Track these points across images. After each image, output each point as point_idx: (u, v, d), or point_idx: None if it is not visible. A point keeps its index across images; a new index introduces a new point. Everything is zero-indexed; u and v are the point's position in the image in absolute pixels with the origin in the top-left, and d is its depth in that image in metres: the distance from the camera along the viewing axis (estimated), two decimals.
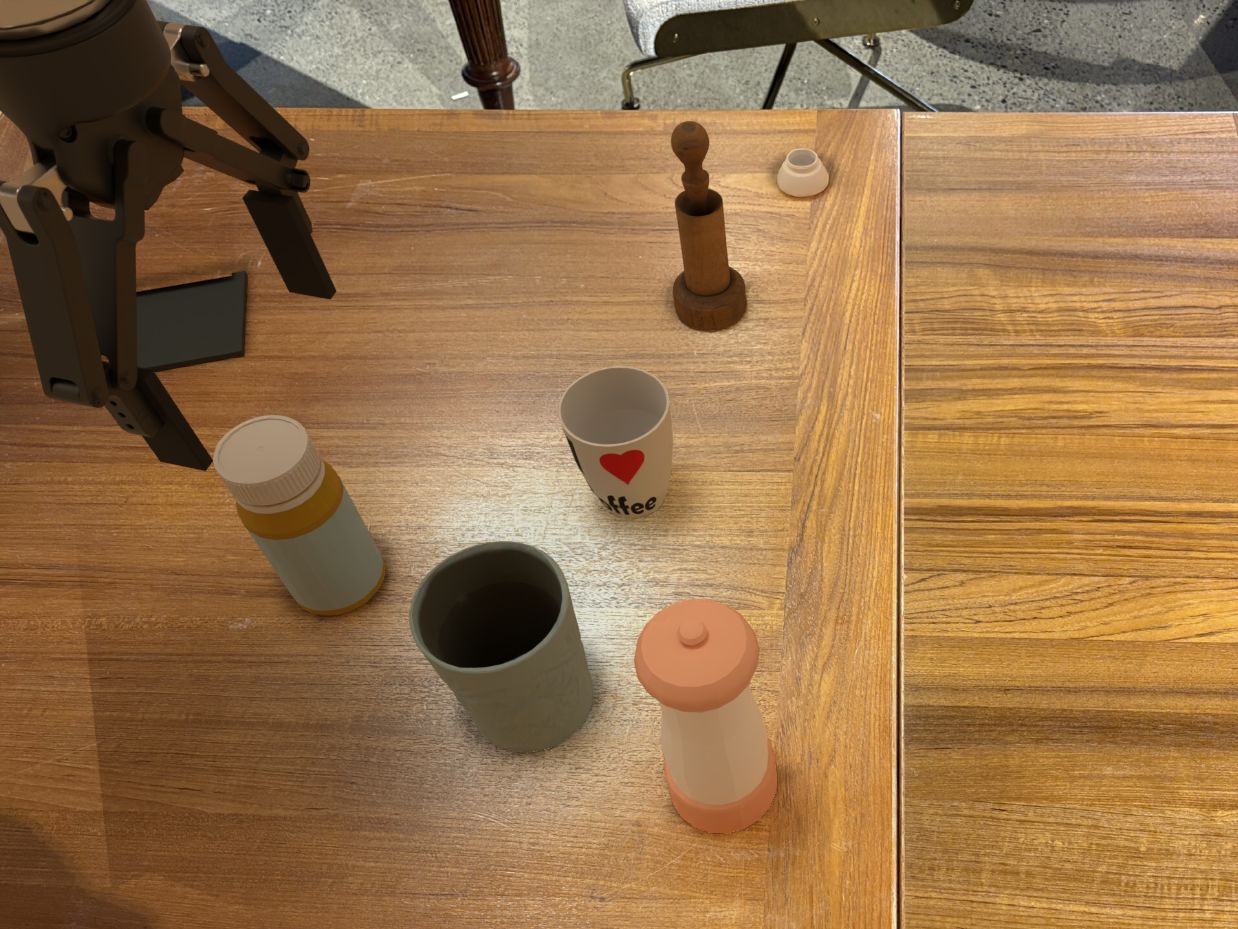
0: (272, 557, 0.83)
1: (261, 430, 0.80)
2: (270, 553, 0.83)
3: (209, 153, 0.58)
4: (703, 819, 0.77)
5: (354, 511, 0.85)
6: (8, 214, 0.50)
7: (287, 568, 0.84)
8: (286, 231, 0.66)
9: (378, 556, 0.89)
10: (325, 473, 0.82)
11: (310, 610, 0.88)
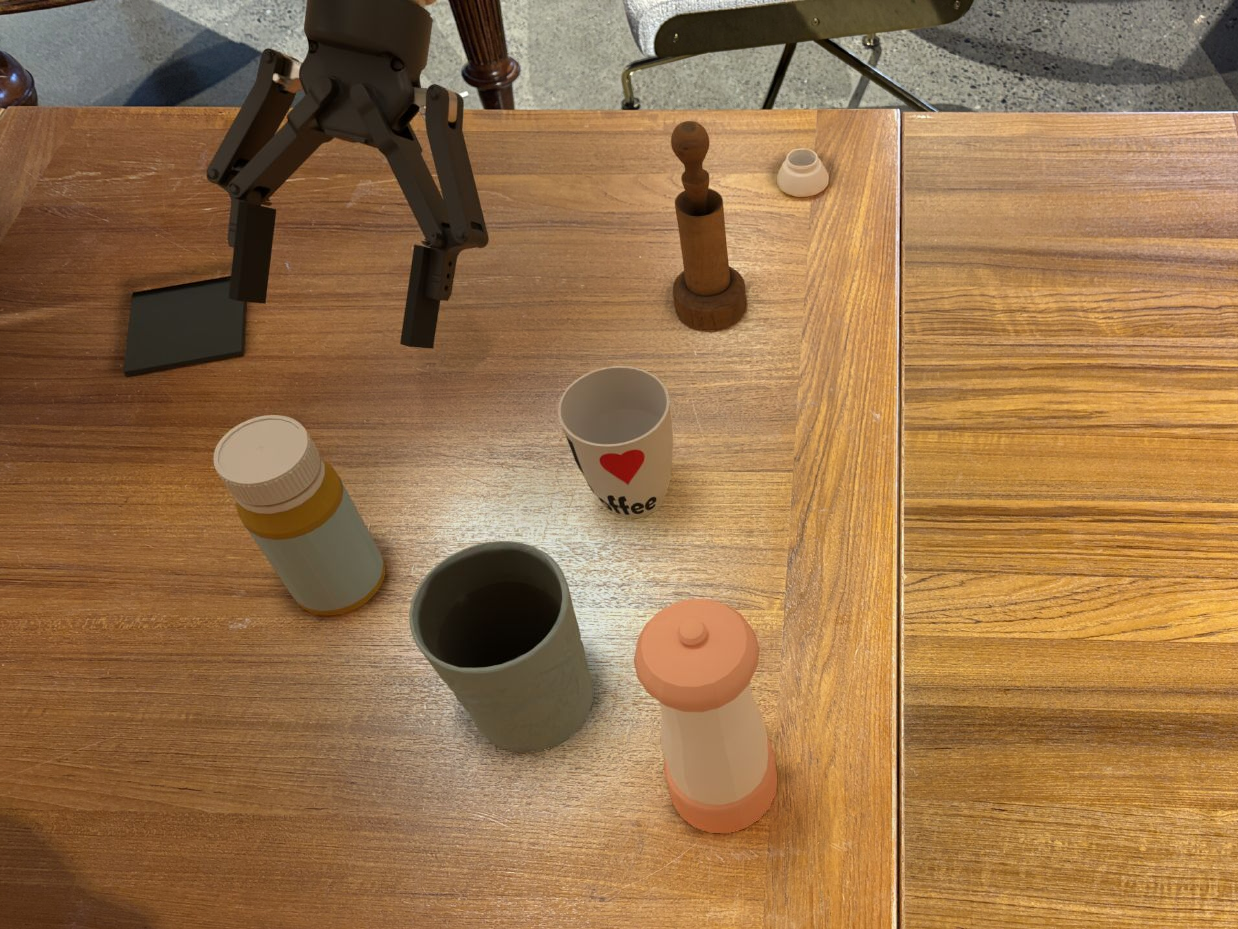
0: (272, 557, 0.83)
1: (262, 430, 0.80)
2: (270, 553, 0.83)
3: (375, 142, 0.77)
4: (703, 819, 0.77)
5: (354, 511, 0.85)
6: None
7: (287, 568, 0.84)
8: None
9: (378, 556, 0.89)
10: (325, 473, 0.82)
11: (310, 610, 0.88)
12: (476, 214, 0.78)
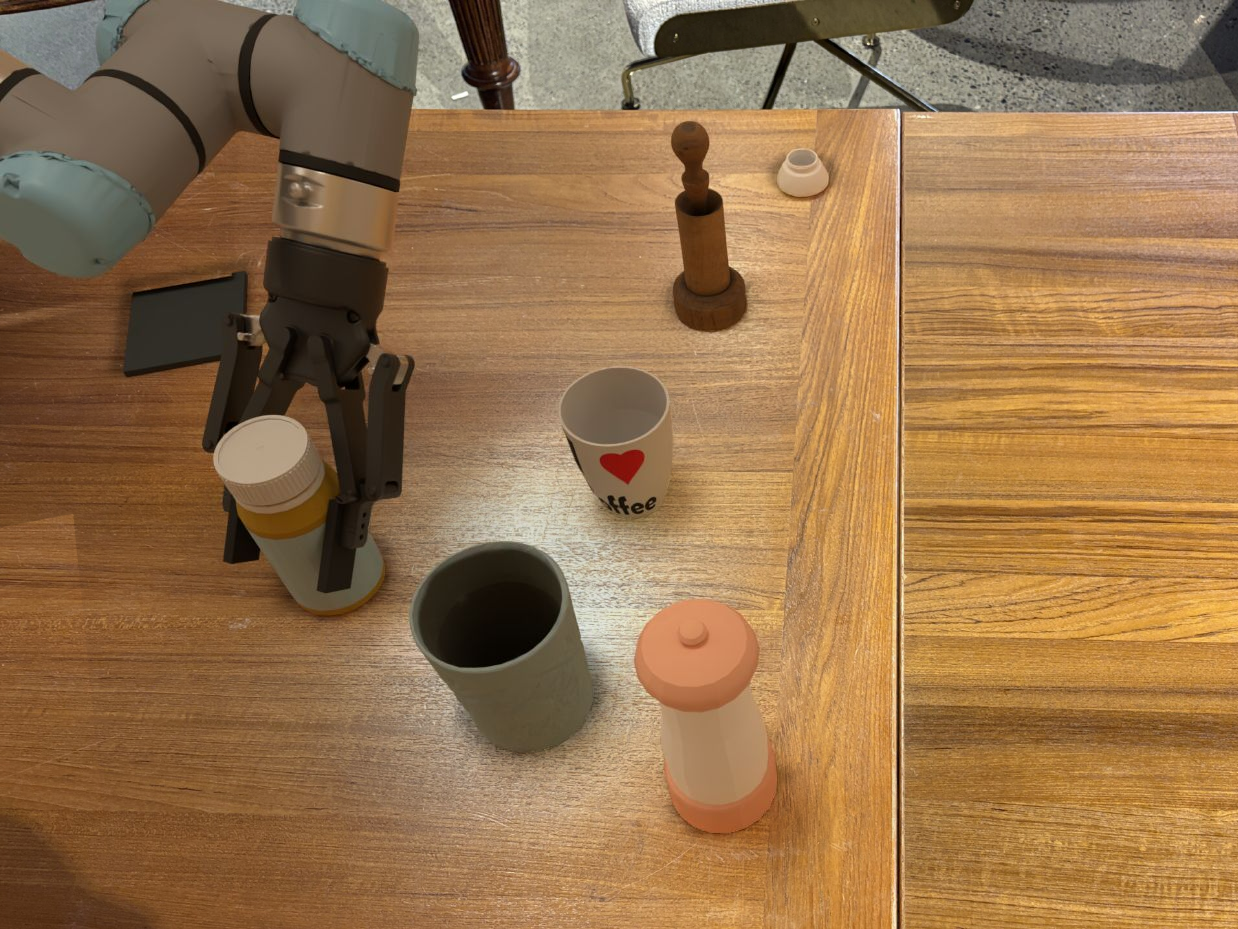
0: (272, 557, 0.83)
1: (261, 430, 0.80)
2: (270, 553, 0.83)
3: (318, 391, 0.80)
4: (703, 819, 0.77)
5: None
6: None
7: (287, 568, 0.84)
8: None
9: (378, 556, 0.89)
10: (325, 473, 0.82)
11: (310, 609, 0.88)
12: (395, 472, 0.82)
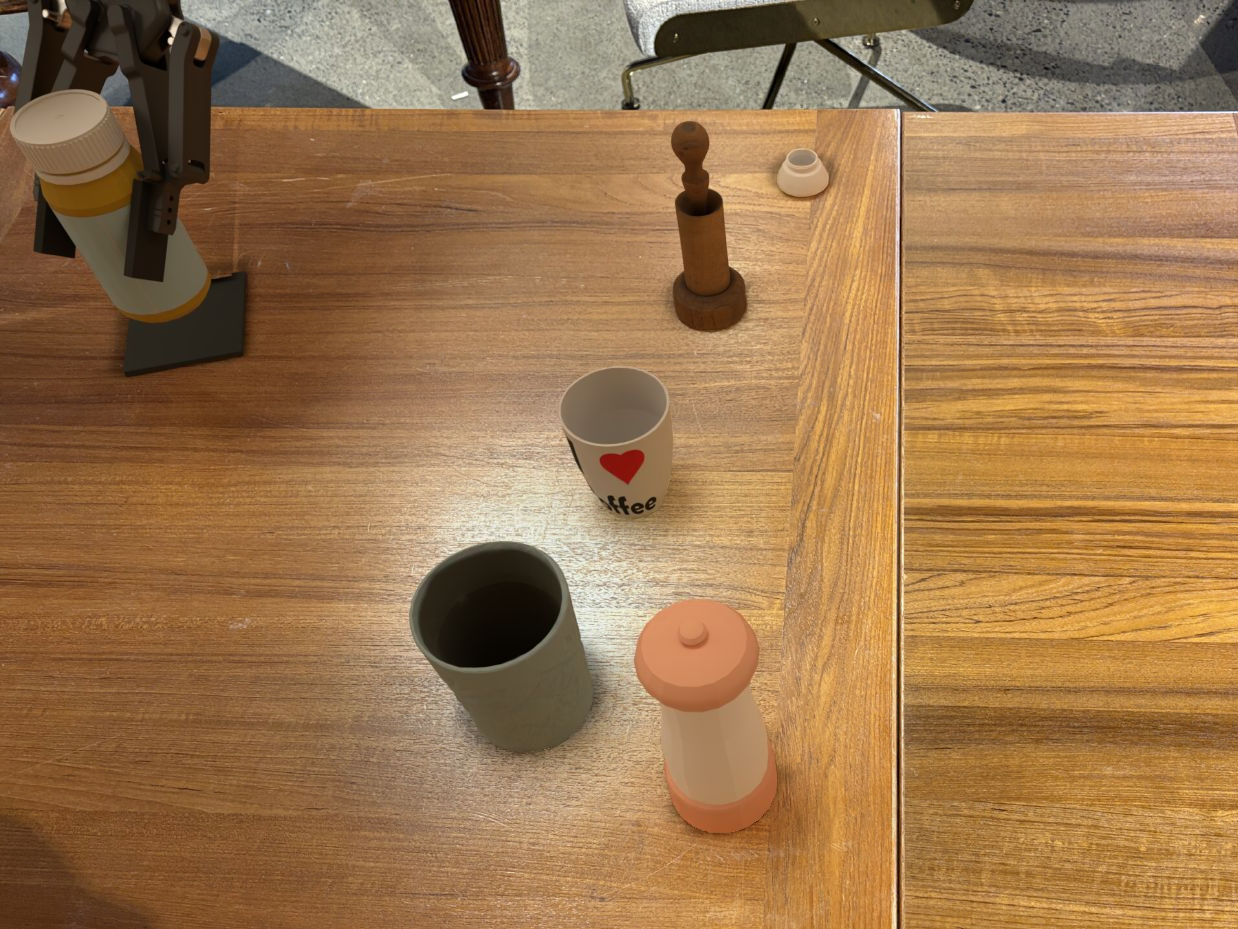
0: (80, 243, 0.83)
1: (62, 102, 0.79)
2: (77, 237, 0.82)
3: (119, 64, 0.79)
4: (703, 819, 0.77)
5: None
6: None
7: (97, 258, 0.84)
8: None
9: (200, 265, 0.89)
10: (130, 153, 0.81)
11: (130, 314, 0.88)
12: (200, 153, 0.81)
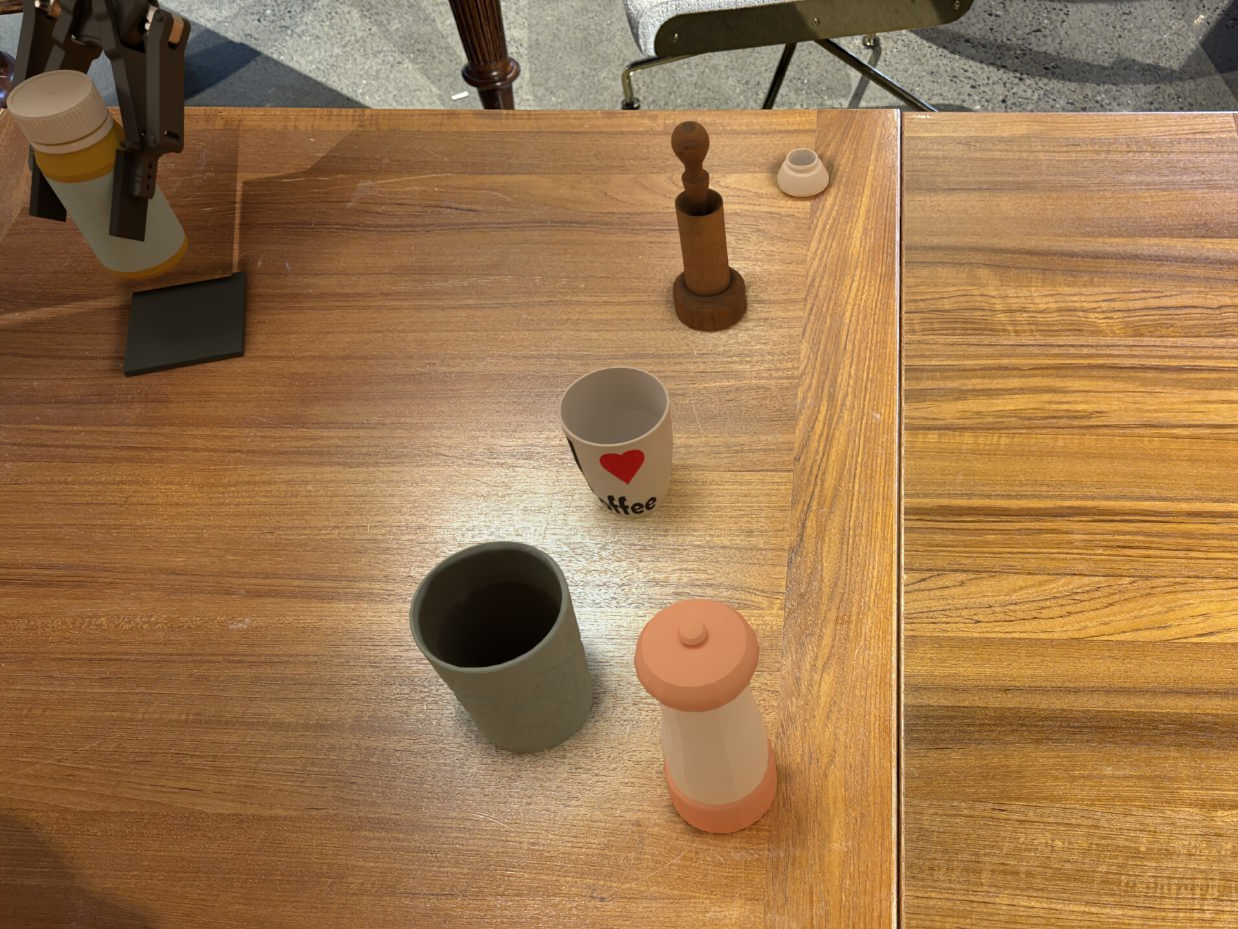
0: (70, 207, 0.94)
1: (53, 81, 0.90)
2: (68, 202, 0.93)
3: (103, 47, 0.90)
4: (703, 819, 0.77)
5: None
6: None
7: (85, 220, 0.94)
8: None
9: (178, 227, 1.00)
10: (113, 126, 0.92)
11: (115, 272, 0.99)
12: (175, 125, 0.92)
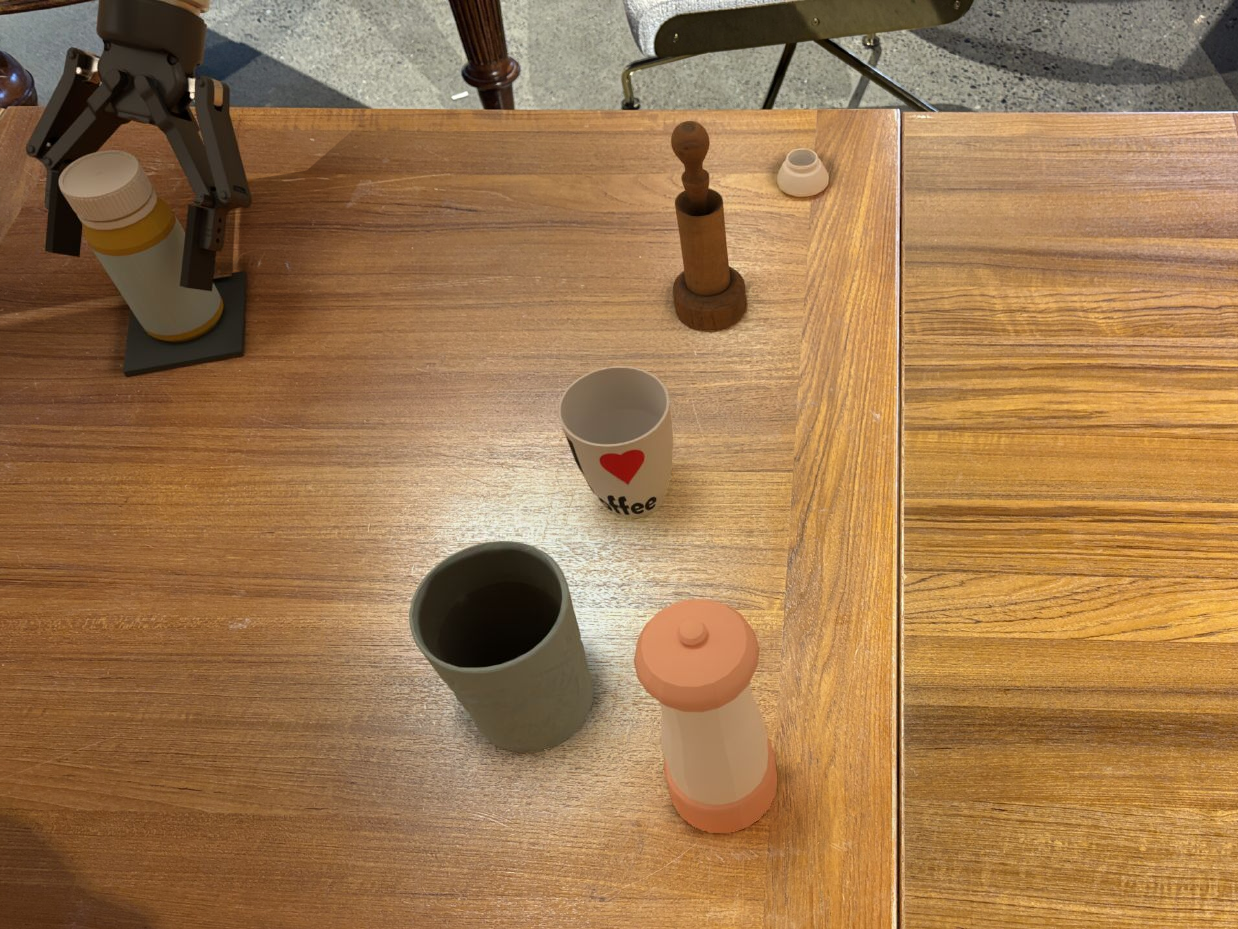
0: (116, 277, 0.99)
1: (101, 161, 0.96)
2: (113, 272, 0.99)
3: (155, 122, 0.95)
4: (703, 819, 0.77)
5: None
6: None
7: (129, 288, 1.00)
8: None
9: (215, 292, 1.06)
10: (157, 202, 0.98)
11: (156, 335, 1.04)
12: (240, 180, 0.96)
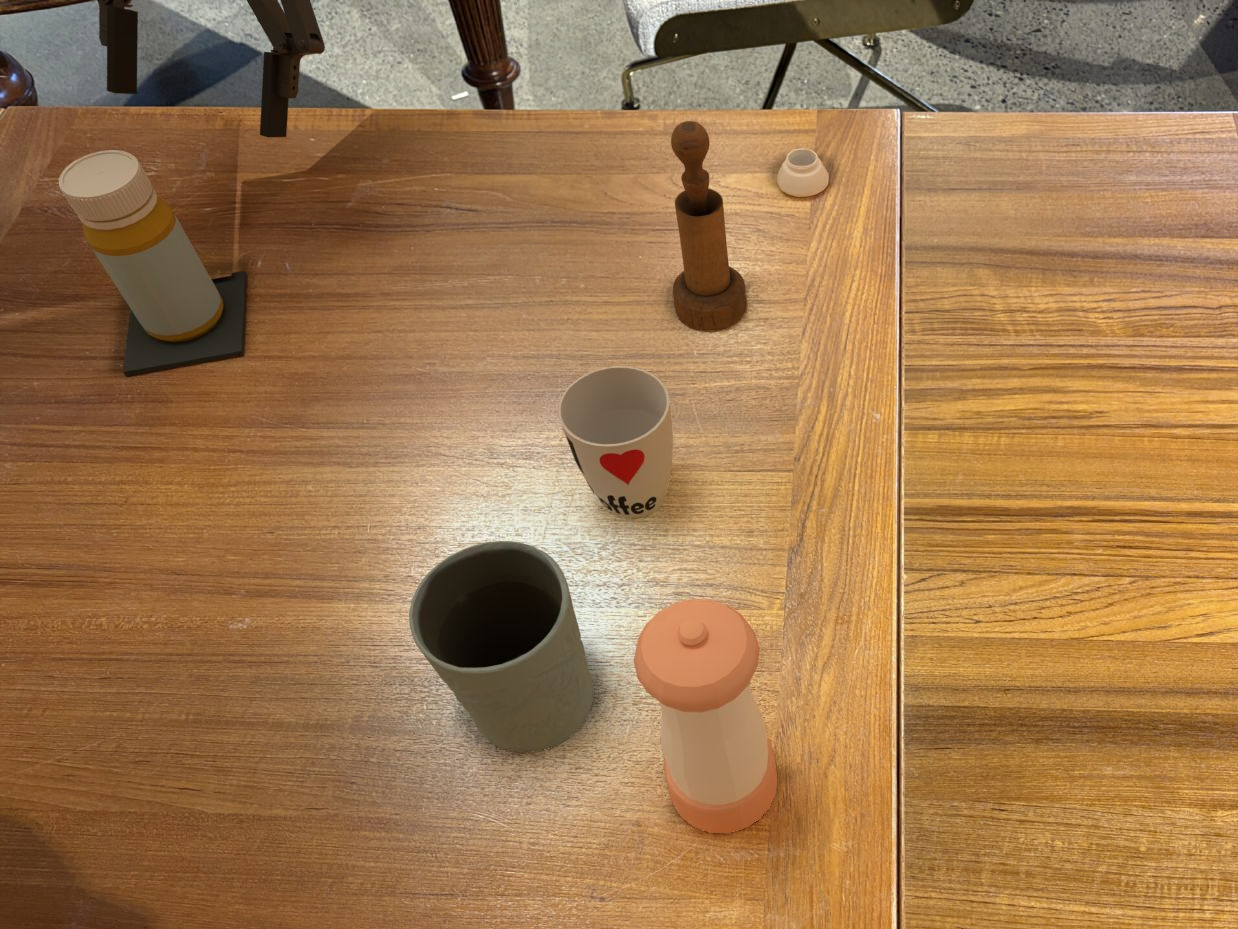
0: (116, 277, 0.99)
1: (101, 161, 0.96)
2: (113, 272, 0.99)
3: None
4: (703, 819, 0.77)
5: (188, 244, 1.01)
6: None
7: (129, 288, 1.00)
8: None
9: (215, 292, 1.06)
10: (157, 202, 0.98)
11: (156, 335, 1.04)
12: (313, 26, 0.97)
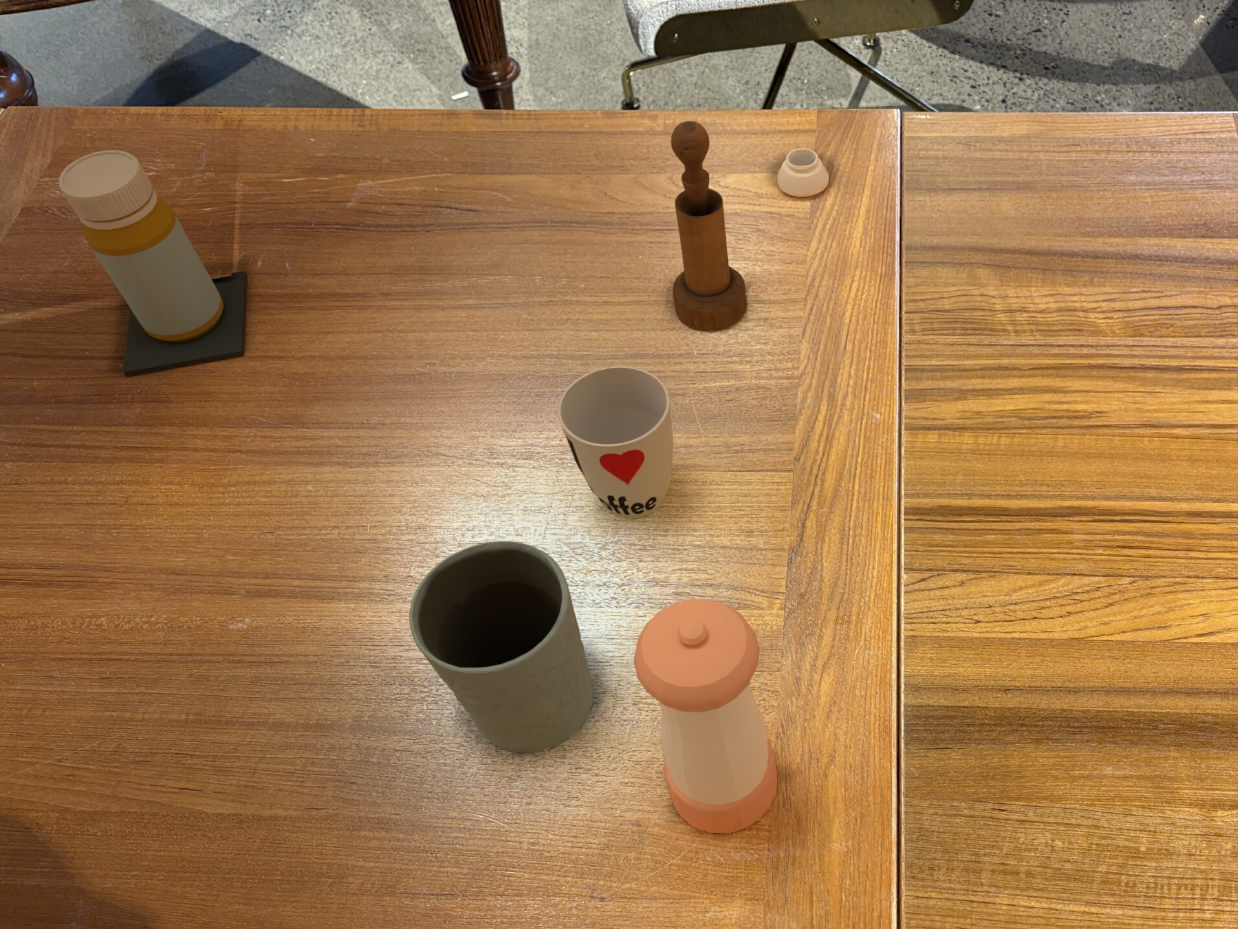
0: (116, 277, 0.99)
1: (101, 161, 0.96)
2: (113, 272, 0.99)
3: None
4: (703, 819, 0.77)
5: (188, 244, 1.01)
6: None
7: (129, 288, 1.00)
8: None
9: (215, 292, 1.06)
10: (157, 202, 0.98)
11: (156, 335, 1.04)
12: None
